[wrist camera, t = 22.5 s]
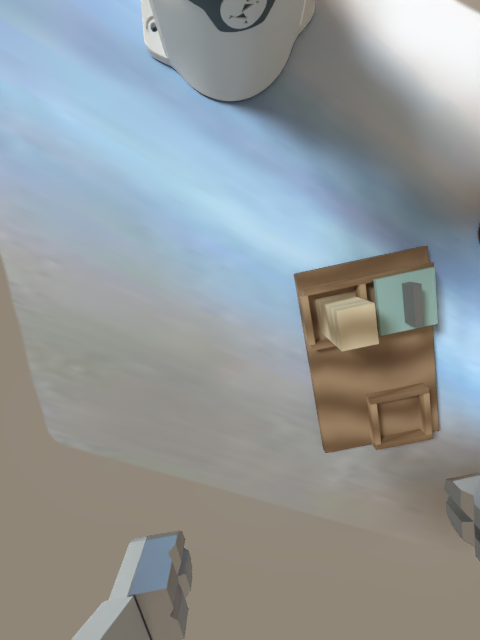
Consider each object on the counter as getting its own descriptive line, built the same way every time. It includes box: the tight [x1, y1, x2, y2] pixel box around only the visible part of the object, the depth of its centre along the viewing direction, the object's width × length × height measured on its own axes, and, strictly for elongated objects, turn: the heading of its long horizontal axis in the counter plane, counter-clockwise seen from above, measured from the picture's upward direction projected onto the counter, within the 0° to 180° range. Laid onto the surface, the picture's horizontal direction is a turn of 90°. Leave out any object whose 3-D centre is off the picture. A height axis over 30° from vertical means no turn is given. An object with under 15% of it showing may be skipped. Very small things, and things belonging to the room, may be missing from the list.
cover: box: [373, 267, 438, 336], centre depth 35 cm, size 7×7×3 cm
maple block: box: [315, 293, 379, 351], centre depth 34 cm, size 4×4×8 cm
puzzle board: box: [294, 246, 439, 453], centre depth 40 cm, size 27×17×3 cm, turn 12°
